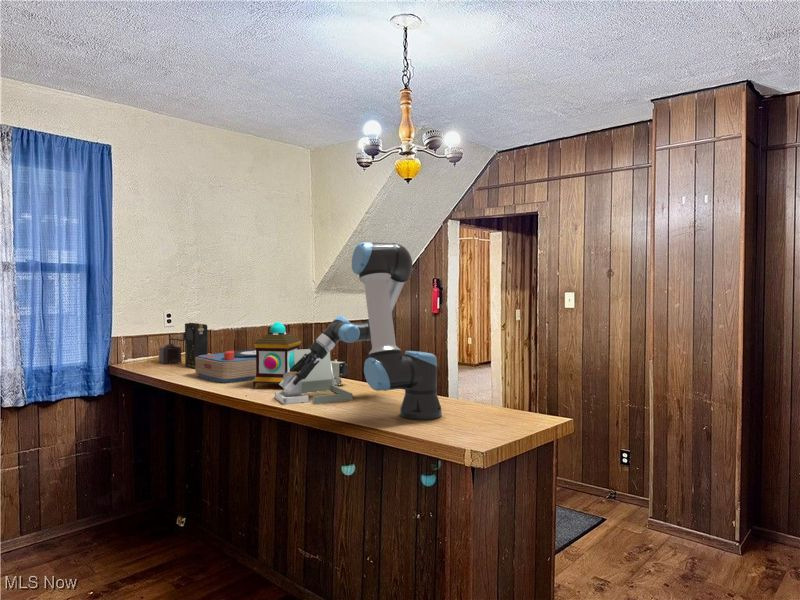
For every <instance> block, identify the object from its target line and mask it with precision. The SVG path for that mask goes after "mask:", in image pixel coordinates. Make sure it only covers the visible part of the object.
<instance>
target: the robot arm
mask: <svg viewBox="0 0 800 600" xmlns="http://www.w3.org/2000/svg"><path fill="white" fill-rule="evenodd" d="M351 269H352V272H353V273H354V274H355V275H358V278H359V281H360V282H361V283H362V284H363V285H364V291H365V293H364V294H365V301H366V308H367V317H368V321H367V322H350V321H349V320H348V319H347V318H346V317H344V316H343V315H338V316H337V317H335V319H333V320H332V322H331V323H330V324H329V325H328V326H327V327H326V328H325V329H324V330H323V332H322V333H320V335H319V336H318V337H317V338H316V339H315V341H314V342H313V343H311V345H310V346H309V348H308V349H310V350H311V352H310V353H309V354H304V356H303V357H302V358H301V359H300V360H299V361H298V362H297V363H296V364H295V365H294V366H293V367H292V368H291V369H290V372H299V371H300V372H299V374H296V375H297V376H298V377H297V376H295V377H294V378H293V379H292V380H291V382H290V383H289V384H288V385H287V386H286V387H285V388H286V389H287V390H288V391H289V392H291V391H292V390H293V389H294V387H295V386H296V385H297V384H298V383H299V382H300V381H301V380H302V379H305V378H306V377H307V376H308V375H309V373H310V372H311V371H312V370H313V368H314V367H315V366H316V365H317V364H318V363H319V360H318V358H320V359H323V358H324V357H325V356H326V355H327V354H328V352H329V351H330V352H331V351H332V350H334V348H335V346H336V345H337V344H338V343H339V342H340V341H342V342H345V343H346V344H347V343H355V342H362V341H363V342H365V341H370V343H371V350H370V351H369V353H368V358H366V359H365V360H364V364H363V365H364V366H363V373H364V378H365V380H366V382H367V384H368V386H369V387H370V388H371V389H372V390H374V391H376V392H379V391H383V392H386V391H393V390H401V389H403V390H404V397H403V399H402V403H401V405H400V409H399V413H400V414H399V415H400V417H402V418H405V419H409V420H421V421H423V420H433V419H438V418H441V417H442V410H443V409H442V407H441V406H442V405H441V403H440V400H439V397H438V360H437V356H436V355H435V354H433V353H431V352H425V351H415V350H405V352H404V355H402V349H400V348H399V347H398V346H397V343H396V335H395V327H394V320H393V319H394V318H393V310H394V308H395V305H396V303H397V301H398V299H399V296H400V294H401V292H402V289H403V287H404V285H405V283H406V282H408V281H409V280H410V278H411V275H412V272H413V260H412V255H411V254H410V252H409V250H408V249H407V248H406V247H405V246H403V245H402V244H400V243H396V242H373V241H367V242H366V241H364V242H363V241H362V242H360V243H358V244H357V245H356V246H355V248H354V249H353V252H352V256H351ZM278 385H279V386H280V387H282V388H283V389H284V382H283V380H282V381H281V383H280V384H278Z"/></svg>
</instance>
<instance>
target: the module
mask: <svg viewBox="0 0 800 600" xmlns="http://www.w3.org/2000/svg"><path fill="white" fill-rule="evenodd" d="M296 374H299V372H286V373H283V382H284V388H283V391H284V397H286V398H287V397H297V396H303V395H302V394H303V393H302V380H301V381H300V382H299V383H298V384H297V385H296V386H295V387H294V389H293V390H292V391H291V392H289V391H288V390H287V389H286V388H285V387H286V386H287V385H288V384H289V383H290V382H291V380H292V379H293V378H294V377H295V376H297V375H296ZM297 377H298V376H297Z"/></svg>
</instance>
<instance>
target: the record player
mask: <svg viewBox="0 0 800 600" xmlns="http://www.w3.org/2000/svg"><path fill="white" fill-rule="evenodd" d="M195 362H196V369H195V373H196V374H197V377H198V378H202V379H204V380H205V379H206V380H208V379H209V380H210V381H212V380H213V381H214V382H216V381H217V383H220V382H222V383H221V384H230V382H232V383H239V381H240V382H246V381H245V380H247V381H252V380H251V379H255V377H256V348H255V349H254V348H252V349H250V348H249V349H241V350H227V351H224V352H219V353H209V354H207V355H200V356H198V357H195ZM209 380H208V381H209Z"/></svg>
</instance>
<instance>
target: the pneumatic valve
mask: <svg viewBox="0 0 800 600" xmlns="http://www.w3.org/2000/svg"><path fill="white" fill-rule="evenodd" d="M330 361H331V364H332V370H333V377H334V383H335V384H333V382H332V385H337V386H340V385H339V384H341V385H342V382H343V381H342V378H341V377H346V376H347V374H348V373H349V366H348V365H347V362H346V361H338V359H334V360H330Z"/></svg>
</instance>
